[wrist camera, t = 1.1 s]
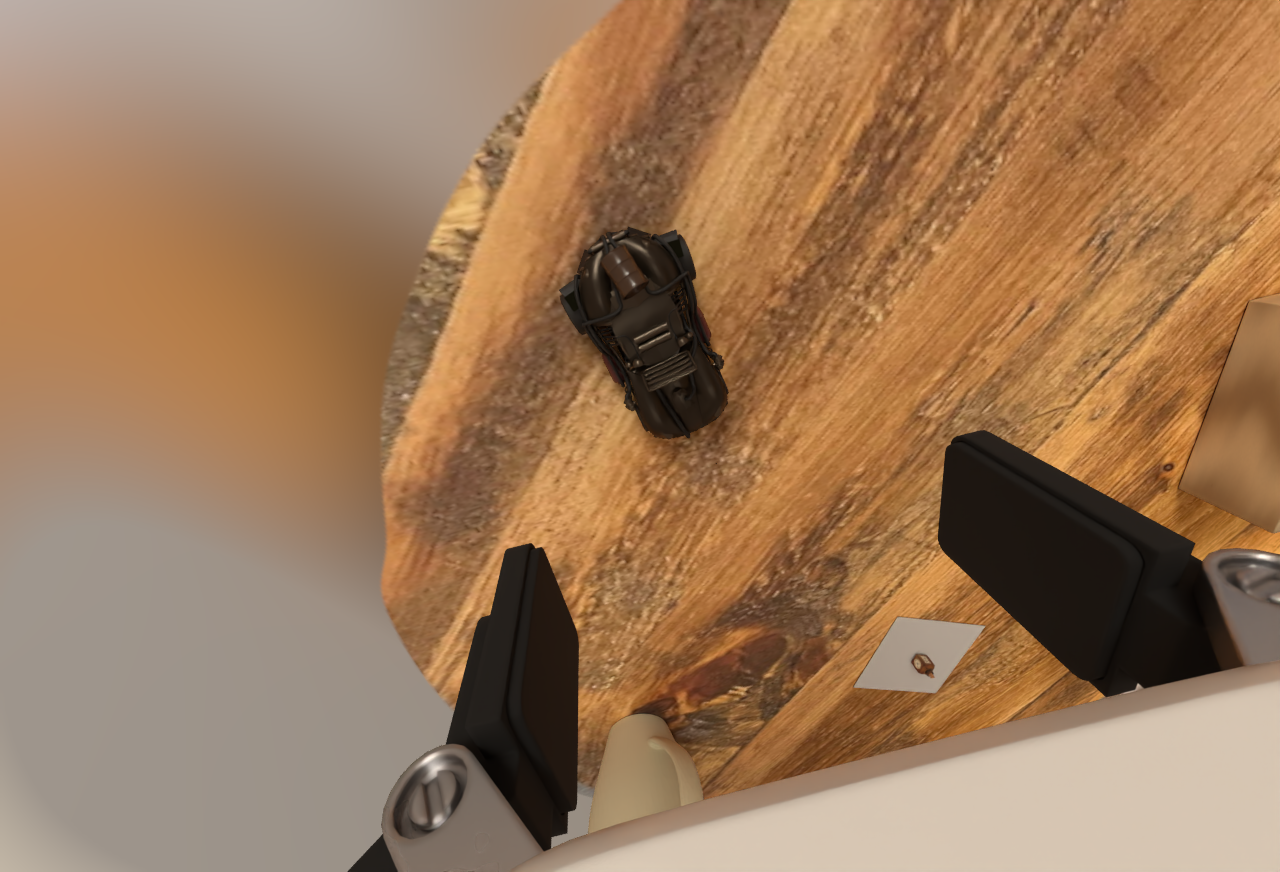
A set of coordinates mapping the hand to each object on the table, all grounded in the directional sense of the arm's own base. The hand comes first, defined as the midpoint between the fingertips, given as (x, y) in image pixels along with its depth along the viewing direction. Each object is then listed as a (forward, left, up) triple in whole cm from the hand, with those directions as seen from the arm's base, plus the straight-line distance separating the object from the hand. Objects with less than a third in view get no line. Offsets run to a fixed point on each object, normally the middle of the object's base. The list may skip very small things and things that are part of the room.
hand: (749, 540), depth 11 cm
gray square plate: (+30, +16, -15) cm, 37 cm away
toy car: (0, 0, -15) cm, 15 cm away
